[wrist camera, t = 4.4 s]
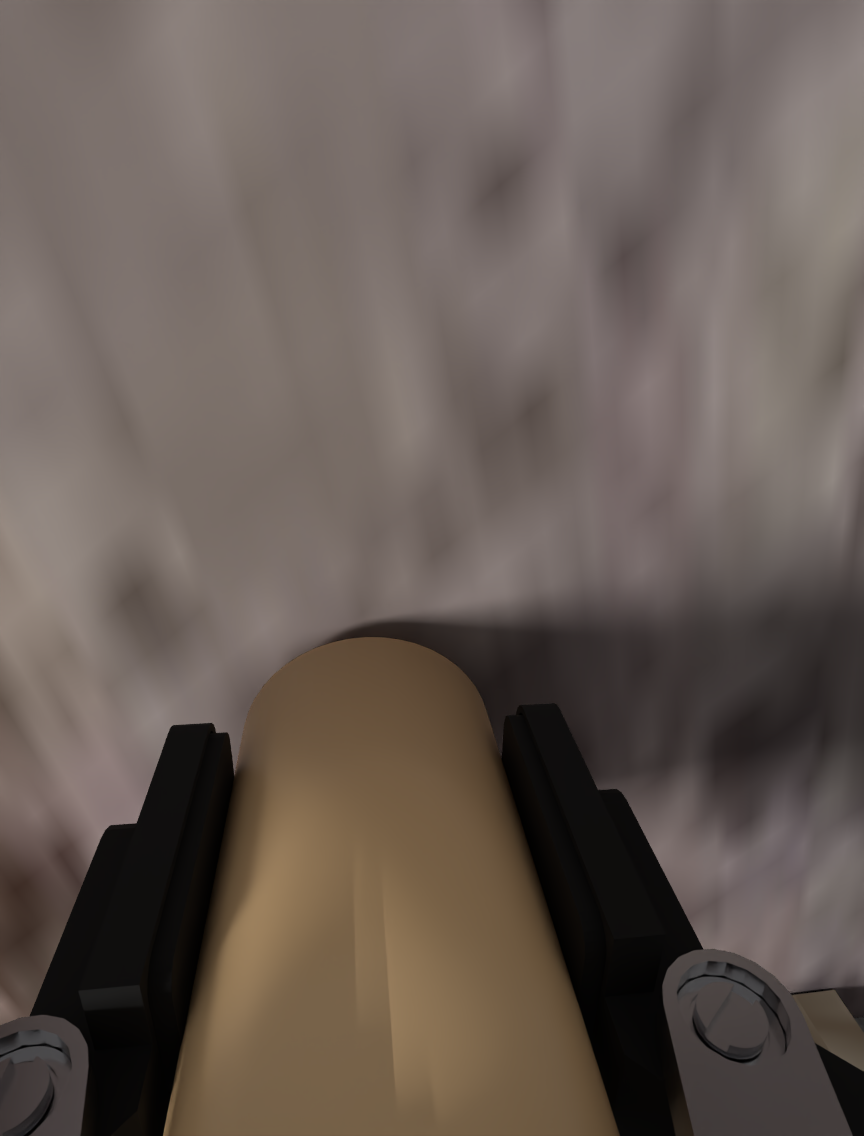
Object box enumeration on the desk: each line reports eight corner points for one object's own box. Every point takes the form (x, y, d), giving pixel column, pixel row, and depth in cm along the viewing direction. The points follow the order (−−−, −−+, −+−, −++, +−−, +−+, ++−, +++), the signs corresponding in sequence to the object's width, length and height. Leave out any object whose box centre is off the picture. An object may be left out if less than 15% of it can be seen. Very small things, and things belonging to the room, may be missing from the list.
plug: (495, 631, 11) (784, 1351, 4) (483, 828, 13) (671, 1595, 6) (230, 643, 11) (1, 1483, 3) (254, 846, 12) (132, 1702, 5)
